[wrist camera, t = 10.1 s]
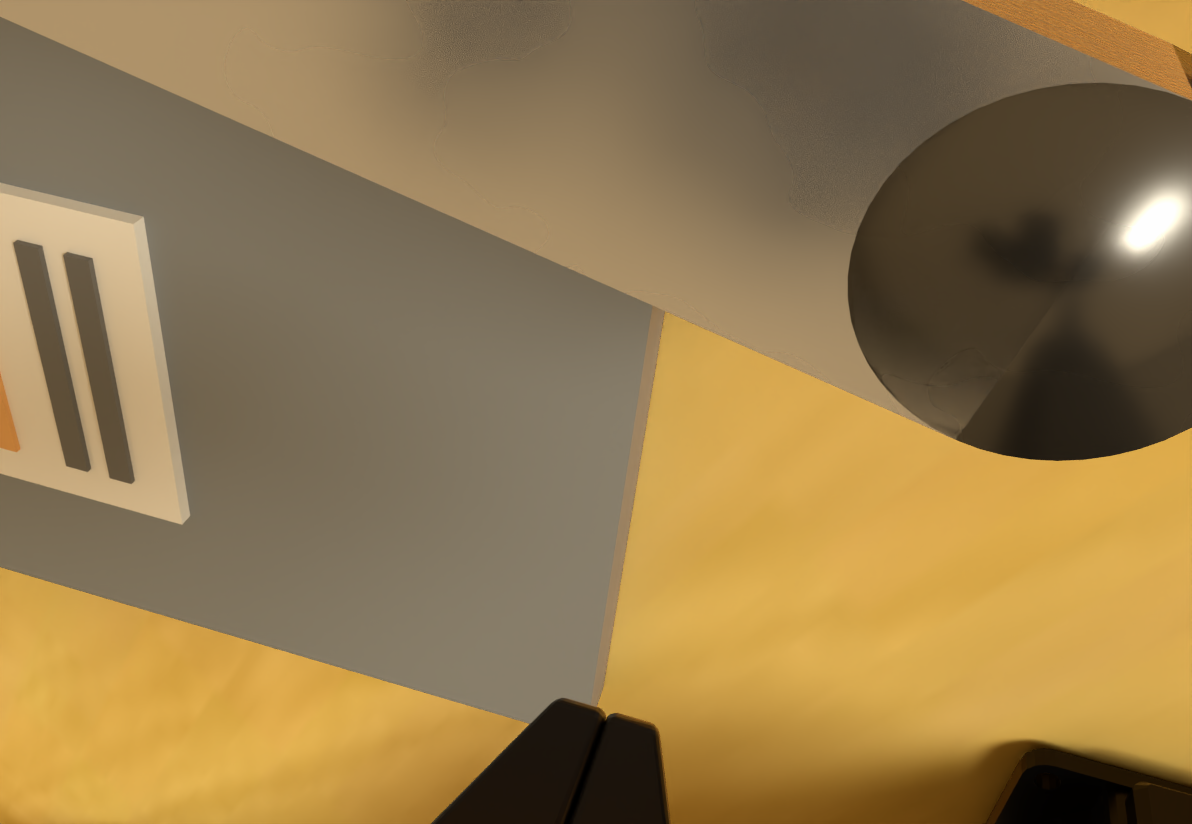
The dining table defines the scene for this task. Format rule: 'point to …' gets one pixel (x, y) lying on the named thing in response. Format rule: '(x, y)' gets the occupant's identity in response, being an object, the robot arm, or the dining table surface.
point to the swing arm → (768, 174)
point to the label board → (303, 398)
